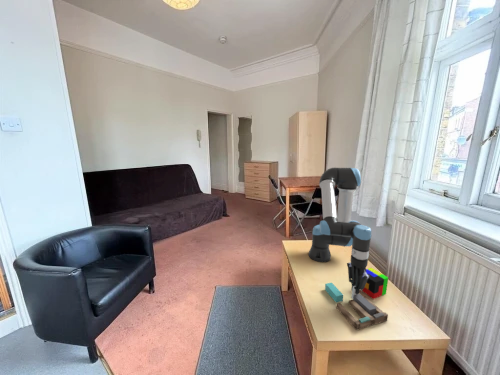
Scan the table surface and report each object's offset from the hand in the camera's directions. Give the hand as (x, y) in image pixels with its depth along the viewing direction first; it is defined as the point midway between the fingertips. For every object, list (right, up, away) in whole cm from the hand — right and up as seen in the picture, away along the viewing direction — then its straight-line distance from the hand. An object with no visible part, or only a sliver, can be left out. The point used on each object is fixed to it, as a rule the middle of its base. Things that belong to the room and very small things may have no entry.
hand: (354, 297), depth 108 cm
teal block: (-9, -1, +4) cm, 10 cm away
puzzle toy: (+13, 0, +8) cm, 15 cm away
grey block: (+2, -3, -5) cm, 6 cm away
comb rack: (-1, -3, -9) cm, 9 cm away
